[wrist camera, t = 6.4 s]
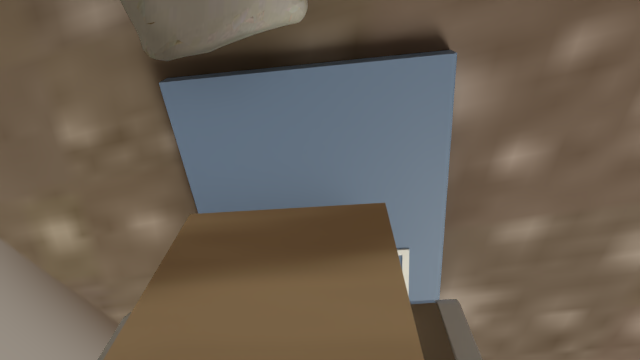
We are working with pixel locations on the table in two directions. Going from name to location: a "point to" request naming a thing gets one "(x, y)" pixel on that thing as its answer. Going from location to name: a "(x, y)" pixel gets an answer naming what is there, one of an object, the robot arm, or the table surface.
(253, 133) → the board
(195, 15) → the ceramic sculpture
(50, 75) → the table surface
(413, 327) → the oak cube
